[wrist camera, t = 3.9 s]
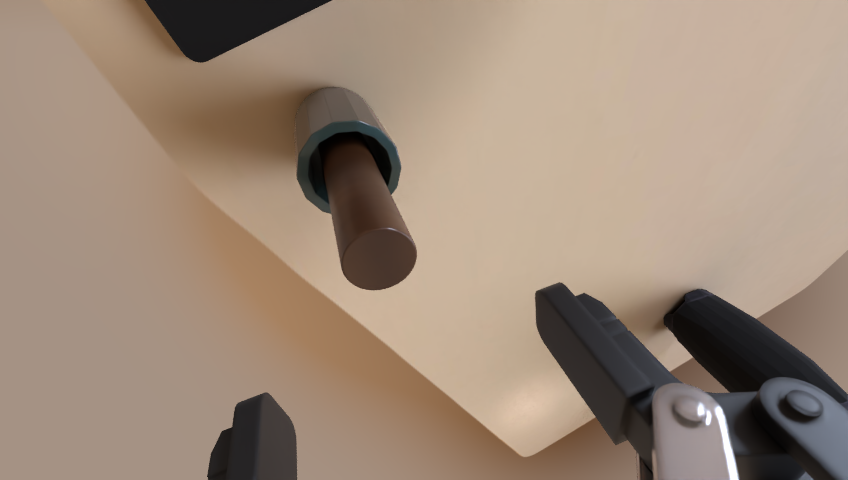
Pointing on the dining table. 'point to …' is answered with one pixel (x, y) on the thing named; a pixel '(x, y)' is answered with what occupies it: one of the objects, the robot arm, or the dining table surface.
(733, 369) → the portable speaker
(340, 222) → the stirring stick
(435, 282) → the dining table surface
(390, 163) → the holder
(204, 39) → the smartphone
